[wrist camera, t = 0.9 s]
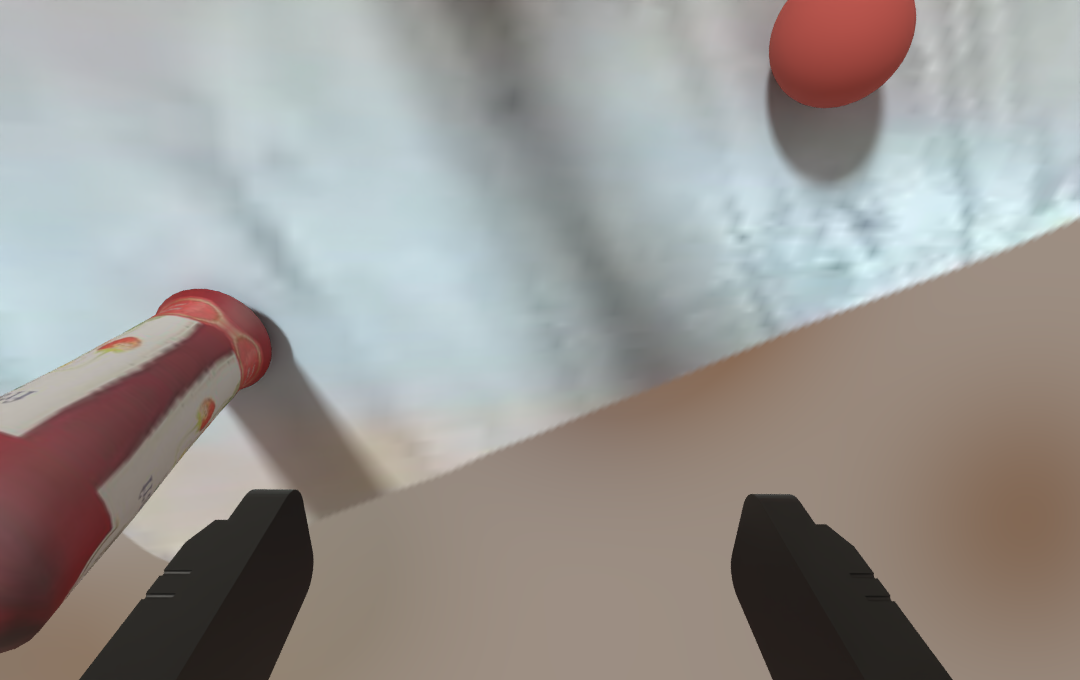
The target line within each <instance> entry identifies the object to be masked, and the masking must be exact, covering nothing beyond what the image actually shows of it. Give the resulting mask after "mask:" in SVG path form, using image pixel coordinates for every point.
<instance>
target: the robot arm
mask: <svg viewBox="0 0 1080 680" xmlns="http://www.w3.org/2000/svg"><path fill="white" fill-rule="evenodd" d="M312 572H313V551H312V546H311V540H310V535H309V530H308V524H307V519H306V514H305V508H304V503H303V498H302V495H301V493H300V492H299V491H298V490H267V489H254V490H251V491H249V492H248V493H247V494H246V495H245V497H244V498H243V499H242V501H241V502H240V504H239V505H238V506H237V508H236V509H235V511H234V512H233V513H232V515H231V516H230V518H229V519H228V520H215V521H213V522H212V523H211V524H209V525H208V526H207V527H205V528H204V529H203V530H201V531H200V532H199V533H197V534H196V535H195V536H193V537H192V538H191V539H189V540H188V541H187V542H186V543H185V544H184V545H183V546H182V548H181V549H180V550H179V551H178V553H177V554H176V555H175V557H174V558H173V559H172V560H171V562H170V563H169V564H168V566H167V567H166V568H165V570H164V574H163V576H159V577H158V579H157V580H156V581H155V582H154V584H153V585H152V586H151V588H150V589H149V590H148V591H147V593H146V598H145V599H141V601H140V602H139V603H138V604H137V606H136V607H135V608H134V610H133V611H132V612H131V614H130V615H129V616H128V617H127V619H126V620H125V622H123V624H122V625H121V626H120V628H119V629H118V630H117V632H116V633H115V634H114V636H113V637H112V638H111V639H110V641H109V642H108V643H107V645H106V646H105V647H104V648H103V650H102V651H101V652H100V653H99V655H98V656H97V657H96V659H95V660H94V661H93V663H92V664H91V665H90V666H89V668H88V669H87V670H86V672H85V673H84V674H83V675H82V677H81V678H80V679H79V680H268V679H269V677H270V675H271V673H272V670H273V668H274V666H275V664H276V661H277V659H278V657H279V655H280V653H281V650H282V648H283V646H284V644H285V641H286V639H287V637H288V634H289V632H290V630H291V628H292V625H293V623H294V620H295V619H296V617H297V614H298V612H299V610H300V608H301V605H302V603H303V601H304V599H305V596H306V594H307V592H308V589H309V586H310V582H311V578H312ZM731 574H732V581H733V585H734V589H735V592H736V595H737V597H738V600H739V602H740V604H741V607H742V609H743V611H744V614H745V616H746V618H747V620H748V623H749V625H750V628H751V630H752V632H753V635H754V637H755V639H756V641H757V644H758V646H759V649H760V651H761V653H762V656H763V658H764V660H765V662H766V665H767V667H768V670H769V672H770V674H771V677H772V679H773V680H952V678H951V677H950V676H949V674H948V673H947V671H946V670H945V669H944V667H943V666H942V665H941V663H940V662H939V661H938V659H937V658H936V657H935V655H934V654H933V653H932V651H931V650H930V649H929V647H928V646H927V644H926V643H925V642H924V640H923V639H922V638H921V637H920V635H919V634H918V632H917V631H916V630H915V629H914V627H913V626H912V624H911V623H910V622H909V620H908V619H907V618H906V616H905V615H904V613H903V612H902V611H901V609H900V608H899V607H898V605H897V604H896V603H895V602H894V601H891V599H890V595H889V593H888V592H887V590H886V589H885V588H884V586H883V585H882V584H881V582H880V581H879V580H878V579H875V578H874V573H873V572H872V570H871V569H870V567H869V566H868V565H867V564H866V562H865V561H864V559H863V558H862V557H861V555H860V554H859V553H858V551H857V550H856V549H855V547H854V546H853V545H851V544H850V543H849V542H848V541H846V540H845V539H844V538H842V537H841V536H840V535H839V534H838V533H836V532H835V531H834V530H832V529H831V528H830V527H829V526H827V525H824V524H821V525H820V524H819V525H818V524H817V525H816V524H815V523H814V522H813V520H812V519H811V517H810V516H809V514H808V513H807V511H806V510H805V508H804V507H803V506H802V504H801V503H800V501H799V500H798V499H797V498H796V497H795V496H793V495H790V494H787V495H786V494H785V495H784V494H781V495H780V494H750V495H748V496H747V498H746V499H745V502H744V505H743V510H742V514H741V518H740V522H739V527H738V531H737V535H736V540H735V544H734V548H733V553H732V558H731Z"/></svg>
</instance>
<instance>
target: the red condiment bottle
mask: <svg viewBox="0 0 1080 680" xmlns="http://www.w3.org/2000/svg"><path fill="white" fill-rule="evenodd" d="M271 350H272V348H271V343H270V338H269V336H268V333H267V331H266V328H265V327H264V325H263V324H262V322H261V321H260V319H259V318H258V317H257V316H256V315H255V314H254V313H253V311H252V310H250V309H249V308H248V307H247V306H245V305H244V304H243V303H242V302H240V301H238V300H236V299H235V298H233V297H231V296H229V295H226V294H224V293H221V292H218V291H213V290H208V289H190V290H184V291H181V292H179V293H176V294H174V295H172V296H171V297H169V298H168V299H166V300H165V301H164V302H163V304H162V305H161V306H160V307H159V309H158V311H157V313H156V315H155V316H153V317H151V318H149V319H147V320H146V321H144V322H142V323H140V324H139V325H137V326H135V327H133V328H131V329H130V330H128V331H126V332H124V333H123V334H121V335H119V336H117V337H115V338H113V339H111V340H109V341H108V342H106V343H104V344H102V345H100V346H98V347H96V348H95V349H93V350H91V351H89V352H87V353H85V354H83V355H82V356H80V357H78V358H76V359H74V360H72V361H70V362H68V363H67V364H65V365H63V366H61V367H59V368H57V369H55V370H53V371H51V372H49V373H47V374H45V375H43V376H41V377H39V378H37V379H35V380H33V381H31V382H29V383H27V384H25V385H23V386H21V387H19V388H17V389H15V390H13V391H11V392H9V393H7V394H5V395H3V396H1V397H0V653H3V652H6V651H9V650H12V649H15V648H17V647H19V646H21V645H23V644H24V643H26V642H28V641H29V640H31V639H32V638H33V637H34V635H36V633H38V632H39V631H40V629H41V628H42V627H43V626H44V625H45V623H46V622H47V621H48V620H49V619H50V617H51V616H52V615H53V614H54V612H55V611H56V610H57V609H58V608H59V606H60V605H61V604H62V603H63V601H64V600H65V599H66V598H67V597H68V595H69V594H70V593H71V592H72V591H73V589H74V588H75V587H76V586H77V585H78V583H79V582H80V581H81V580H82V579H83V577H84V576H85V575H86V574H87V573H88V571H89V570H90V569H91V568H92V567H93V566H94V564H95V563H96V562H97V561H98V560H99V559H100V557H101V556H102V555H103V554H104V552H105V551H106V550H107V549H108V548H109V547H110V546H111V544H112V543H113V542H114V541H115V540H116V538H117V537H118V536H119V535H120V534H121V533H122V531H123V530H124V529H125V528H126V527H127V526H128V524H129V523H130V522H131V521H132V520H133V518H134V517H135V516H136V515H137V513H138V512H139V511H140V510H141V508H142V507H143V506H144V504H145V503H146V502H147V501H148V499H149V498H150V497H151V496H152V494H153V493H154V492H155V491H156V489H157V488H158V487H159V485H160V484H161V483H162V482H163V480H164V479H165V478H166V477H167V475H168V474H169V473H170V472H171V470H172V469H173V468H174V467H175V465H176V464H177V463H178V461H179V460H180V459H181V458H182V456H183V455H184V454H185V453H186V452H187V451H188V449H189V448H190V447H191V446H192V445H193V443H194V442H195V441H196V440H197V439H198V438H199V436H200V435H201V434H202V433H203V432H204V430H205V429H206V428H207V427H208V426H209V425H210V423H211V422H212V421H213V420H214V419H215V417H216V416H217V415H218V414H219V413H220V412H221V410H222V409H223V408H224V407H225V406H226V405H227V404H228V403H229V401H230V400H231V399H232V398H233V397H234V396H235V395H236V394H237V392H238V391H239V390H241V389H243V388H246V387H249V386H251V385H253V384H254V383H256V382H257V381H258V380H259V379H260V378H261V377H262V376H263V375H264V374H265V372H266V371H267V369H268V367H269V364H270V361H271Z"/></svg>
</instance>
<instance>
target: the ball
mask: <svg viewBox="0 0 1080 680" xmlns="http://www.w3.org/2000/svg"><path fill="white" fill-rule="evenodd" d="M915 25H916V8H915V2H914V0H788V1H787V2H786V3H785V5H784V6H783V8H782V10H781V11H780V13H779V15H778V17H777V19H776V22H775V24H774V27H773V30H772V34H771V38H770V45H769V59H770V66H771V69H772V73H773V75H774V77H775V80H776V81H777V83H778V84H779V86H780V88H781V89H782V90H783V91H784V92H785V93H786V94H787V95H788V96H789V97H791V98H792V99H794V100H796V101H797V102H799V103H802V104H804V105H807V106H812V107H816V108H832V107H839V106H844V105H847V104H850V103H853V102H856V101H858V100H860V99H862V98H864V97H866V96H867V95H869V94H871V93H872V92H874V91H875V90H877V89H878V88H879V87H880V86H882V85H883V84H884V83H885V82H886V81H887V80H888V79H889V78H890V77H891V76H892V75H893V73H894V72H895V71H896V70H897V69H898V67H899V66H900V64H901V63H902V61H903V60H904V58H905V56H906V54H907V52H908V50H909V48H910V45H911V42H912V39H913V36H914V31H915Z"/></svg>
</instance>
